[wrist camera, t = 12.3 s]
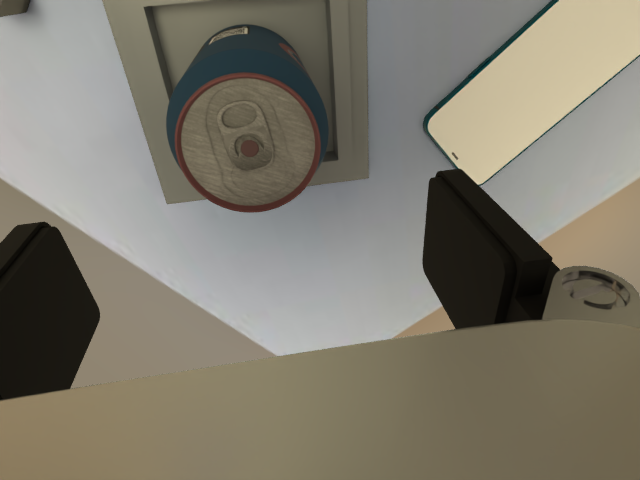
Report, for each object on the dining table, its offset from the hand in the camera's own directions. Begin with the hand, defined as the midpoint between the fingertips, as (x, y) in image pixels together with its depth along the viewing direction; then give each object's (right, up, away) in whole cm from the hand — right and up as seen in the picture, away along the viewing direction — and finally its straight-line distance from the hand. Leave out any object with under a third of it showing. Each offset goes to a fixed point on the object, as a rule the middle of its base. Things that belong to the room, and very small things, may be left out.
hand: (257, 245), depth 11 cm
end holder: (-3, +10, +16) cm, 20 cm away
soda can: (-3, +10, +16) cm, 19 cm away
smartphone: (+17, +12, +19) cm, 29 cm away
